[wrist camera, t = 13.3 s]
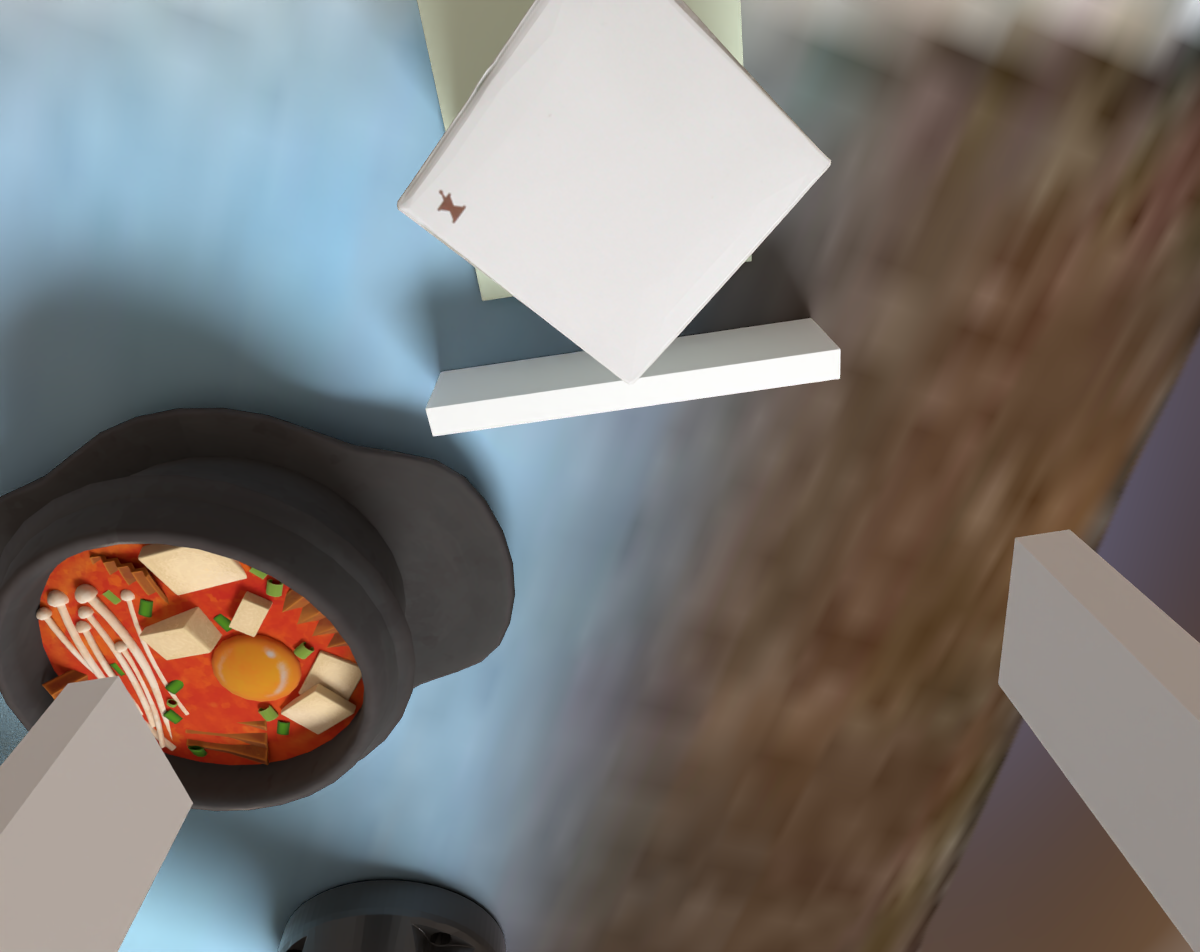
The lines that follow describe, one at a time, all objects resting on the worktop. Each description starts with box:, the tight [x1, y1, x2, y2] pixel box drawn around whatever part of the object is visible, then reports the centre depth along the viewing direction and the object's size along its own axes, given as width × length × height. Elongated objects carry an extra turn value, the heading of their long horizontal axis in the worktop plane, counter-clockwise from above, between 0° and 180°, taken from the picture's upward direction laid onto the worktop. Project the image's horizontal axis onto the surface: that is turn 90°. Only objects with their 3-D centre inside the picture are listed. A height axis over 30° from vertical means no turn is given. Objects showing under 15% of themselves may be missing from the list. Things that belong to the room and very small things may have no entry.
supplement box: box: [397, 0, 831, 385], centre depth 23 cm, size 7×7×13 cm
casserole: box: [0, 408, 515, 811], centre depth 34 cm, size 25×19×8 cm
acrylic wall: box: [426, 318, 840, 436], centre depth 31 cm, size 16×1×4 cm, turn 98°
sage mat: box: [417, 0, 752, 301], centre depth 28 cm, size 11×11×1 cm
